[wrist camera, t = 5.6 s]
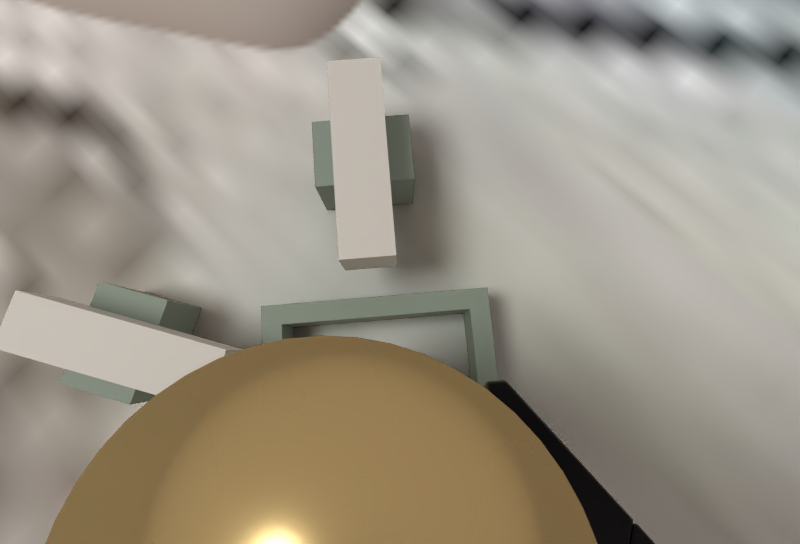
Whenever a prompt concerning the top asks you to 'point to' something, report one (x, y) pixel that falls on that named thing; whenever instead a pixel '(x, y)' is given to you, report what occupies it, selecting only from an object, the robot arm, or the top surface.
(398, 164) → the shaft bench
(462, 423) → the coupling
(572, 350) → the top surface
